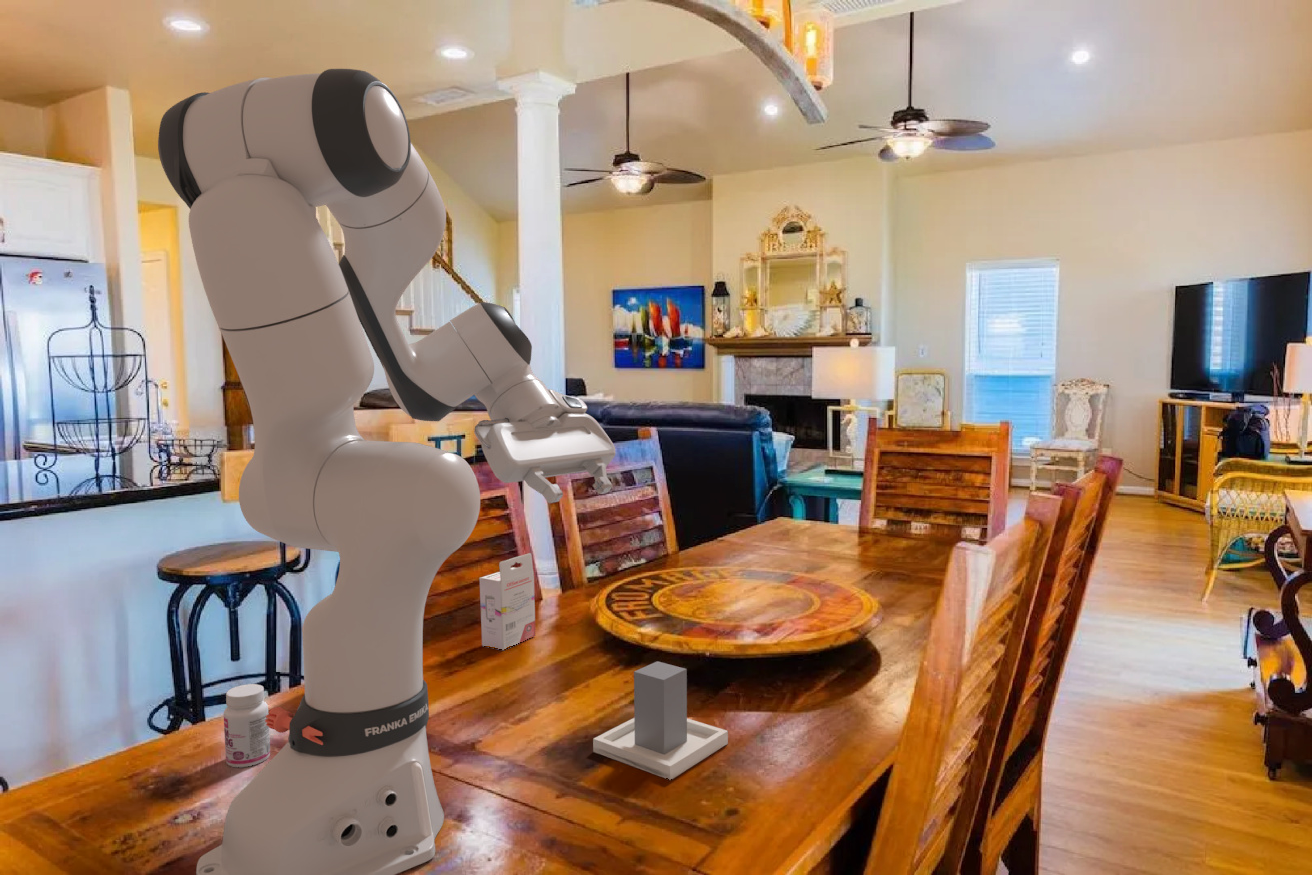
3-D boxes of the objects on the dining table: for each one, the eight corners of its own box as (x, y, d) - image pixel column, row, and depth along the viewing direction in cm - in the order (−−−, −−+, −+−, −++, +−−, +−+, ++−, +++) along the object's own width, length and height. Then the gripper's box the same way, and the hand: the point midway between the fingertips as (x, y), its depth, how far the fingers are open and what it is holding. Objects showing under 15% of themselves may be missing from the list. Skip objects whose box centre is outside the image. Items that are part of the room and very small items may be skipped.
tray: (670, 780, 94) (670, 766, 94) (593, 751, 101) (593, 738, 101) (727, 743, 103) (727, 730, 103) (653, 719, 110) (653, 707, 110)
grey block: (664, 754, 99) (663, 679, 98) (634, 744, 102) (634, 671, 101) (686, 741, 103) (686, 669, 102) (657, 731, 105) (657, 661, 105)
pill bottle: (216, 764, 99) (212, 694, 98) (250, 747, 103) (247, 680, 103) (245, 771, 97) (242, 700, 96) (279, 754, 101) (276, 685, 101)
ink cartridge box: (514, 632, 148) (512, 549, 146) (536, 636, 145) (534, 552, 144) (479, 646, 140) (477, 559, 139) (502, 651, 138) (500, 562, 136)
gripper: (479, 404, 106) (535, 488, 101) (590, 399, 122) (644, 471, 117) (457, 438, 109) (511, 521, 104) (568, 429, 125) (619, 500, 120)
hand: (582, 495), depth 110 cm, fingers open, 8 cm apart
